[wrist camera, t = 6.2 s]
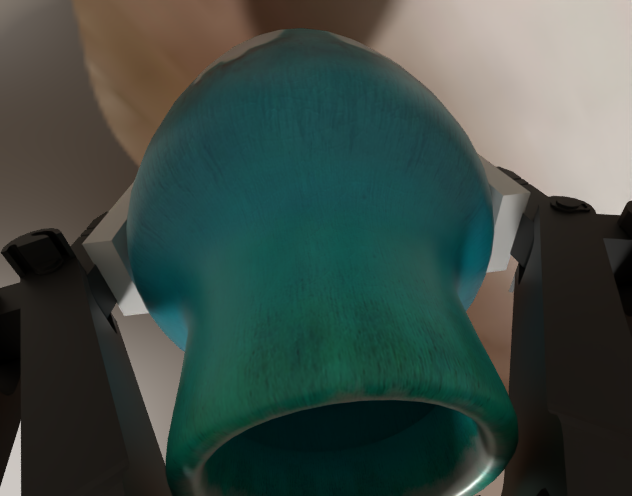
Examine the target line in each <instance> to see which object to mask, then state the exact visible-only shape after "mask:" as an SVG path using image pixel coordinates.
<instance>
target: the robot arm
mask: <svg viewBox="0 0 632 496" xmlns="http://www.w3.org/2000/svg"><path fill="white" fill-rule="evenodd" d="M478 156H479V158H480V160H481V162H482V164H483V167H484V169H485V173H486V176H487V180H488V183H489V187H490V190H491V194H492V205H493V217H494V240H493V248H492V255H491V259H490V262H489V265H488V268H487V272H494V271H502V270H506V268H507V265H508V262H509V259H510V256H511V255H512V256H513V257H514V258H515V259H516V260H517V261H518V262H519V263H518V266H517V269H516V272H515V275H514V278H513V281H512V284H511V287H510V290H509V292H513V291H514V303H513V322H512V340H511V359H510V378H509V398H510V400H511V403H512V405H513V408H514V410H515V413H516V415H517V420H518V435H519V441H518V444H517V448H516V451H515V453H514V455H513V457H512V458H511V460H510V461H509V463H508V465H507V466H506V468H505V474H504V484H503V490H502V494H501V496H632V201H629V202H628V203H627V204H626V206H625V208H624V210H623V212H622V214H621V215H604V214H596V212H595V210H594V209H593V207H592V206H591V205H589V204H587V203H586V202H584V201H581V200H578V199H575V198H570V197H565V196H551V197H548V196H546V195H545V194H543V193H542V192H541V191H539V190H538V189H536V188H535V187H533V186H532V185H531V184H528V182H526V181H525V180H524V179H521V177H519V176H518V175H516V174H515V173H514V172H512V171H509V170H507V169H504V168H501V167H495V166H494V165H492V164H491V163H490V162H488V161H487V160H486V159H484V158H483V157H482V156H480V155H479V154H478ZM134 182H135V181H134ZM134 182H133V184H134ZM133 184H132V185H131V186H130V187H129V188H128V190H127V191H126V192H125V193H124V194H123V196H122V197H121V198H120V199H119V200H118V201H117V203H116V204H115V205H114V206H113V207H112V209H111V210H110V211H109V212H105V213H104V214H102V215H100V216H99V217H97V218H96V219H94V220H93V221H92V223H91V224H90V225H89V226H88V227H87V230H85V231H84V232H83V233H82V234H81V237H79V238H78V239H77V240H76V241H75V242H74V243H73V244H72V246H71V247H70V246H69V244H68V242H67V241H66V239H65V237H64V236H63V234H62V233H61V232H60V230H58V229H54V228H49V229H41V230H37V231H33V232H30V233H27V234H25V235H22V236H20V237H18V238H16V239H14V240H13V241H11V242H10V243H9V244H7V245H6V246H5V247H3V249H2V251H1V254H2V255H3V256H4V257H5V259H6V260H7V261H8V263H9V264H10V265H11V266H12V268H13V269H14V270H15V272H16V273H17V274H18V275H19V277H20V283H16V284H13V285H10V286H6V287H2V288H0V486H1V482H2V479H3V476H4V472H5V469H6V466H7V463H8V460H9V457H10V453H11V450H12V447H13V444H14V440H15V437H16V434H17V431H18V428H19V424H20V421H21V496H172V494H171V491H170V488H169V486H168V483H167V478H166V473H165V470H166V466H165V463H164V460H163V457H162V454H161V451H160V448H159V445H158V443H157V440H156V436H155V433H154V431H153V428H152V425H151V422H150V419H149V416H148V413H147V410H146V407H145V404H144V401H143V398H142V395H141V392H140V389H139V386H138V383H137V380H136V377H135V374H134V371H133V369H132V366H131V363H130V360H129V357H128V354H127V351H126V348H125V345H124V342H123V339H122V336H121V333H120V330H119V327H118V325H117V321H116V320H115V318H114V317H113V315H112V313H111V311H112V309H113V308H114V306H115V304H116V302H117V304H118V305H119V307H120V309H121V311H122V312H123V314H124V316H126V315H136V314H143V313H149V312H148V311H147V309H146V307H145V305H144V303H143V301H142V299H141V297H140V295H139V293H138V291H137V288H136V284H135V281H134V277H133V273H132V269H131V265H130V261H129V257H128V249H127V232H126V224H127V216H128V209H129V202H130V196H131V190H132V187H133ZM479 496H480V495H479Z"/></svg>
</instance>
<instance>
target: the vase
mask: <svg viewBox="0 0 632 496" xmlns="http://www.w3.org/2000/svg"><path fill="white" fill-rule="evenodd" d="M126 232H127V249H128V257H129V261H130V265H131V269H132V273H133V277H134V281H135V284H136V288H137V291H138V293H139V295H140V297H141V299H142V301H143V303H144V305H145V307H146V309H147V311H148V312H149V313H150V315H151V316H152V318H153V319H154V320H155V322H156V323H157V324H158V326H159V327H160V328H161V329H162V331H163V332H164V333H165V334H166V335H167V336H168V337H169V338H170V339H171V340H172V341H173V342H174V343H175V344H176V345H177V346H178V347H179V348H180V349H181V350H183V351H184V352H185V354H184V360H183V366H182V372H181V377H180V383H179V388H178V393H177V397H176V402H175V407H174V411H173V417H172V421H171V426H170V431H169V436H168V442H167V453H166V470H165V473H166V478H167V483H168V486H169V488H170V491H171V494H172V496H473V495H475V494H476V493H478V492H479V491H481V490H483V489H484V488H485V487H486V486H487V485H489V484H490V483H491V482H493V481H494V480H495V479H496V478H497V476H499V475H500V473H501V472H502V471H503V470H504V469H505V468H506V466H507V465H508V463H509V461H510V460H511V458H512V457H513V455H514V453H515V451H516V448H517V444H518V441H519V435H518V420H517V415H516V413H515V410H514V408H513V405H512V403H511V400H510V398H509V396H508V393H507V391H506V389H505V387H504V385H503V383H502V381H501V379H500V377H499V375H498V373H497V371H496V369H495V367H494V365H493V364H492V362H491V360H490V358H489V356H488V354H487V352H486V350H485V349H484V347H483V345H482V343H481V341H480V339H479V337H478V335H477V333H476V331H475V329H474V327H473V325H472V323H471V321H470V319H469V317H468V315H467V313H466V311H467V309H468V308H469V306H470V305H471V304H472V302H473V300H474V298H475V296H476V294H477V292H478V290H479V288H480V286H481V284H482V282H483V280H484V277H485V275H486V272H487V268H488V265H489V262H490V259H491V255H492V248H493V240H494V217H493V205H492V194H491V190H490V187H489V183H488V180H487V176H486V173H485V169H484V167H483V164H482V162H481V160H480V158H479V156H478V154H477V152H476V150H475V148H474V147H473V145H472V143H471V141H470V139H469V137H468V136H467V134H466V133H465V131H464V130H463V128H462V127H461V126H460V124H459V123H458V122H457V121H456V119H455V118H454V117H453V116H452V115H451V113H450V112H449V111H448V110H447V109H446V107H445V106H444V105H443V104H442V103H441V102H440V100H439V99H438V98H437V97H436V96H435V95H434V94H433V93H432V92H431V91H430V90H429V89H428V88H427V87H426V86H424V85H423V84H422V83H421V82H420V81H418V80H417V79H416V78H415V77H414V76H412V75H411V74H410V73H409V72H407V71H406V70H405V69H404V68H402V67H401V66H400V65H398V64H397V63H395V62H394V61H392V60H391V59H389V58H388V57H386V56H384V55H382V54H380V53H378V52H376V51H375V50H373V49H371V48H369V47H367V46H365V45H363V44H361V43H360V42H358V41H355V40H353V39H350V38H347V37H344V36H341V35H338V34H335V33H331V32H328V31H322V30H313V29H305V28H297V29H283V30H277V31H273V32H269V33H265V34H261V35H258V36H255V37H253V38H251V39H249V40H247V41H245V42H243V43H241V44H239V45H236V46H234V47H233V48H232V49H230V50H229V51H228V52H226V53H225V54H223V55H222V56H221V57H219V58H218V59H217V60H215V61H214V62H213V63H211V64H210V65H209V66H208V67H207V68H206V69H205V70H204V71H203V72H202V73H201V74H200V75H199V76H198V77H197V78H196V79H195V80H194V81H193V82H192V83H191V84H190V85H189V87H188V88H187V89H186V90H185V91H184V92H183V93H182V94H181V95H180V97H179V98H178V99H177V100H176V101H175V102H174V104H173V106H172V107H171V109H170V110H169V112H168V113H167V115H166V117H165V118H164V120H163V121H162V123H161V125H160V126H159V128H158V129H157V131H156V133H155V134H154V136H153V137H152V139H151V141H150V143H149V145H148V148H147V150H146V152H145V154H144V157H143V160H142V162H141V165H140V168H139V171H138V173H137V176H136V179H135V182H134V184H133V187H132V190H131V196H130V202H129V209H128V216H127V224H126Z"/></svg>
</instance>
